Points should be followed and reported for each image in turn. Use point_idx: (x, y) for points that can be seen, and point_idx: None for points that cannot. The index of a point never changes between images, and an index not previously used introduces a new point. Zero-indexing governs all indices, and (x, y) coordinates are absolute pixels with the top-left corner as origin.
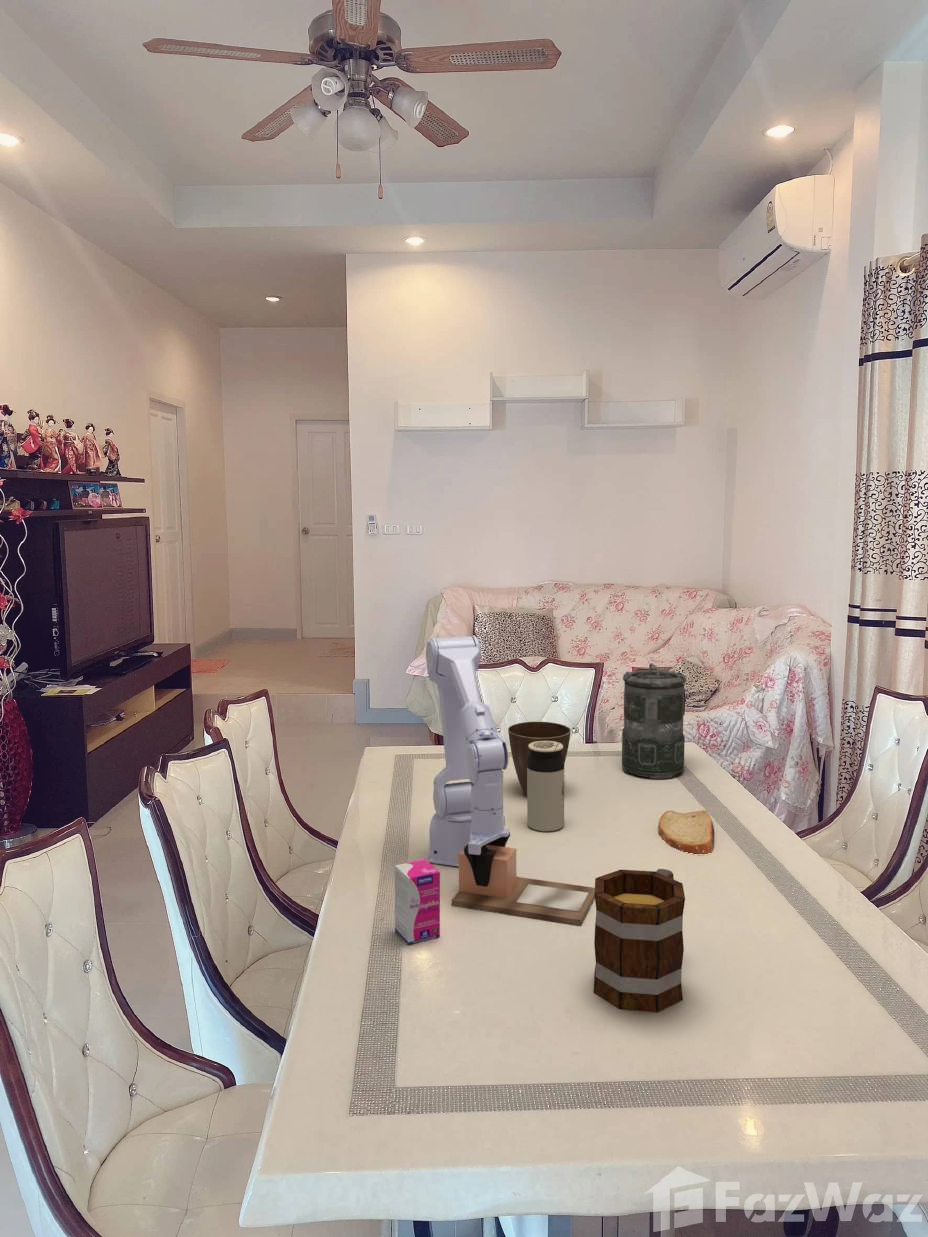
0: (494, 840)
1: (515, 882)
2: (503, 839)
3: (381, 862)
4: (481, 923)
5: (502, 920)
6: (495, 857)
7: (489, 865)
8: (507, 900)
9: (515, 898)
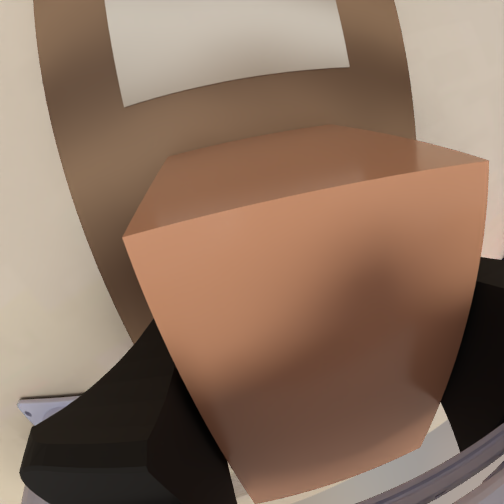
0: (205, 474)
1: (185, 155)
2: (172, 450)
3: (237, 497)
4: (469, 149)
5: (435, 89)
6: (461, 285)
7: (498, 260)
8: (348, 113)
9: (310, 87)
